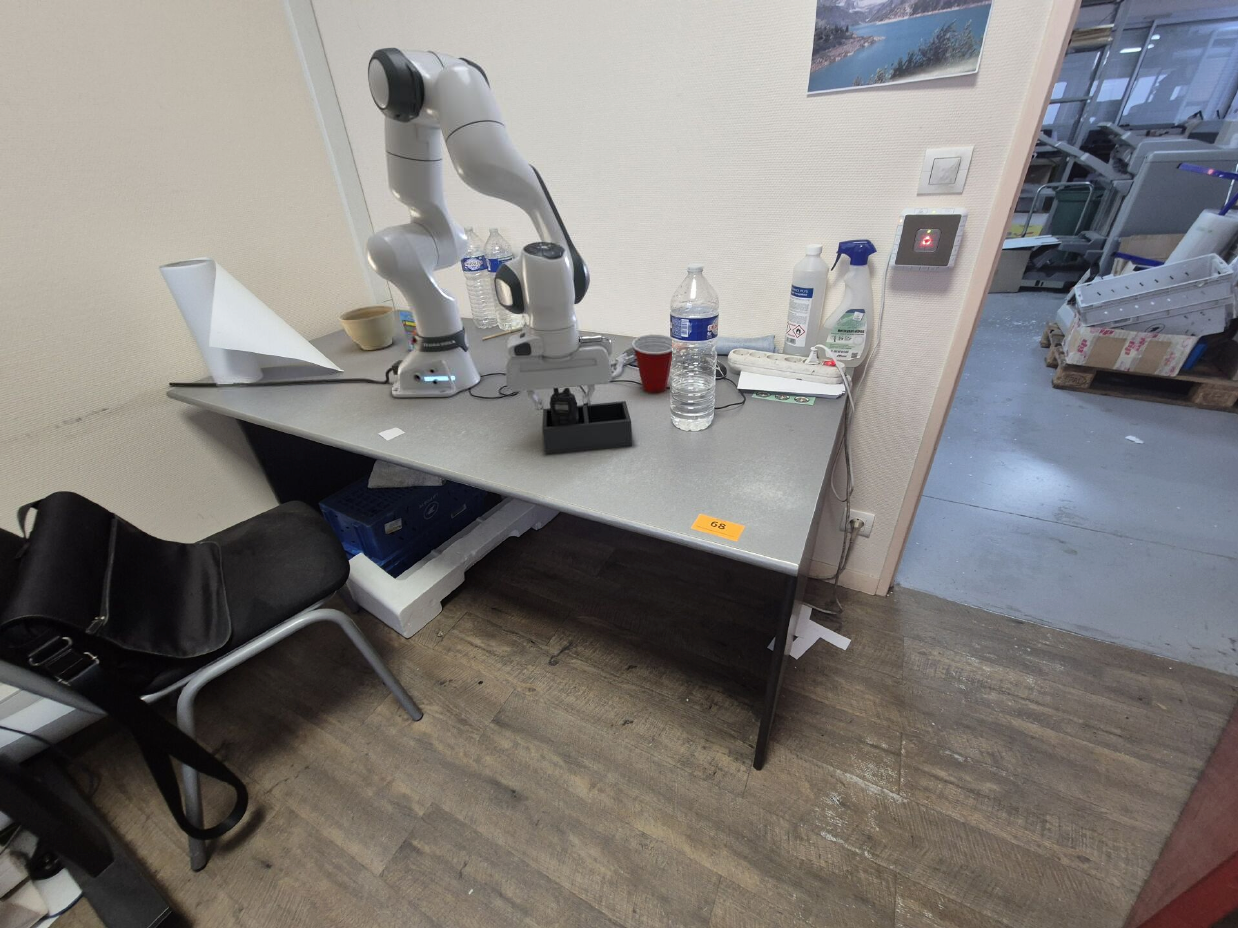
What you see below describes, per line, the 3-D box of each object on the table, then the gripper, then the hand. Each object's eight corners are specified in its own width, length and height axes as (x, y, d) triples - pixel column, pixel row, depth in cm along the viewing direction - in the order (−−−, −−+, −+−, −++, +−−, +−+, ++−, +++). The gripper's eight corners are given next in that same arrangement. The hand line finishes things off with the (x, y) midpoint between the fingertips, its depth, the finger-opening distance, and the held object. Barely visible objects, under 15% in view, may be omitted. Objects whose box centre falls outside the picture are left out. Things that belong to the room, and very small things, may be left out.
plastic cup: (647, 401, 118) (646, 353, 112) (625, 386, 126) (623, 339, 120) (685, 391, 122) (686, 343, 116) (662, 376, 130) (662, 331, 124)
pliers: (580, 367, 134) (616, 350, 144) (580, 373, 135) (617, 356, 145) (607, 375, 129) (643, 357, 138) (608, 381, 130) (643, 363, 139)
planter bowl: (384, 334, 174) (375, 303, 168) (412, 342, 165) (403, 308, 160) (340, 349, 163) (328, 315, 157) (367, 357, 155) (356, 322, 149)
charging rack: (632, 446, 101) (631, 420, 98) (546, 454, 100) (542, 429, 97) (626, 425, 109) (625, 400, 106) (546, 433, 108) (543, 408, 105)
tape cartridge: (438, 350, 157) (427, 310, 150) (428, 354, 154) (417, 314, 148) (419, 346, 161) (408, 307, 155) (409, 350, 159) (398, 311, 152)
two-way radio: (552, 441, 103) (542, 373, 94) (558, 431, 106) (549, 364, 98) (579, 442, 102) (571, 373, 94) (583, 432, 105) (576, 364, 97)
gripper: (609, 329, 96) (613, 395, 103) (501, 337, 95) (513, 404, 102) (612, 339, 91) (616, 408, 98) (498, 349, 89) (511, 418, 97)
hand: (563, 406), depth 100 cm, fingers open, 8 cm apart
